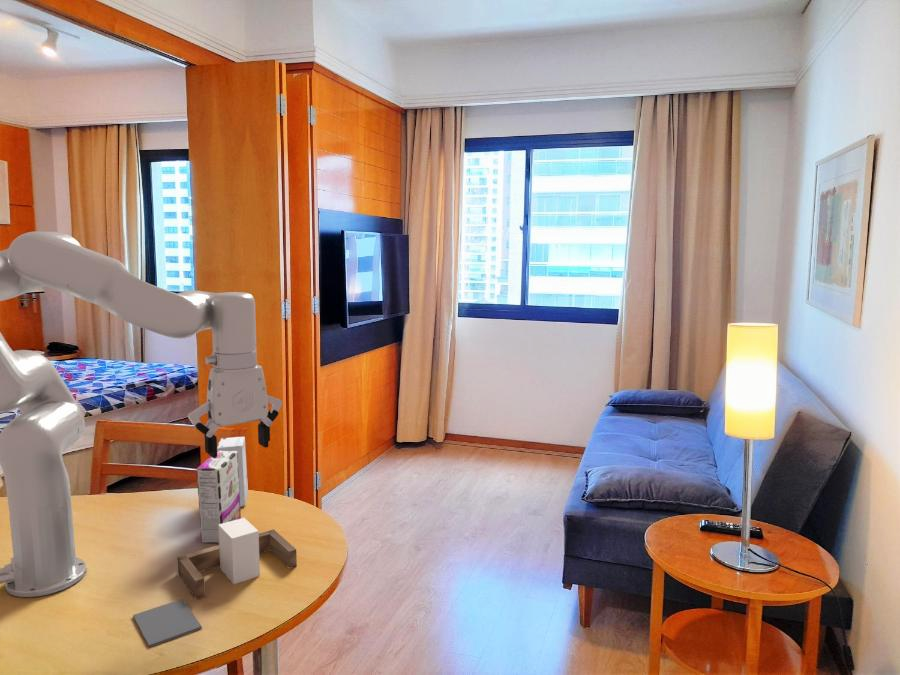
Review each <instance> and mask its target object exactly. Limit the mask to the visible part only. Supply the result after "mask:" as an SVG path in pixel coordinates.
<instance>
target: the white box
mask: <svg viewBox="0 0 900 675" xmlns="http://www.w3.org/2000/svg"><path fill="white" fill-rule="evenodd" d="M218 527H219V543H218V545H219V551H220V566H219V569H220V568H221V569H220V570H221V572H223V574H224V573H225V574H226V575H225V574H224V575H225V576H226V577H227V579H229V581H230V580H231V581H230V582H231V583H232V584H233V585H236V584H238V583H242V582H245V581H247V580H251V579H254V578H257V577H259V576H260V575H261V570H260V569H261V568H260V567H261V565H260V564H261V563H260V554H259V532H260V531H259V530H258V529H257V528H256V527H255V526H254V525H253V524H252V523H251V522H249V520H247V519H246V518H245V517H241V519H237V520H233V521H230V522H226V523H222V524H219V525H218Z"/></svg>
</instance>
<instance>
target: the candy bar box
mask: <svg viewBox="0 0 900 675" xmlns="http://www.w3.org/2000/svg"><path fill="white" fill-rule="evenodd" d="M237 452H238V451H223V450H219V451H217V457H216V458H212V457H211V456H210V457H209V458H207V459H206V460H205V461H204V462H203V463H202V464H200V465H199V466H198V467H197V468H196V478H197V479H196V480H197V481H196V482H197V496H198V507H199V508H198V509H199V510H198V511H199V526H200V527H199V528H200V529H199V530H200V541H201V543H203V544H219V527H218V525H219V524H222V523H226V522H230V521H233V520H237V519H241V518H242V516H241V507H240V494H239V473H238V455H237Z"/></svg>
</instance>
